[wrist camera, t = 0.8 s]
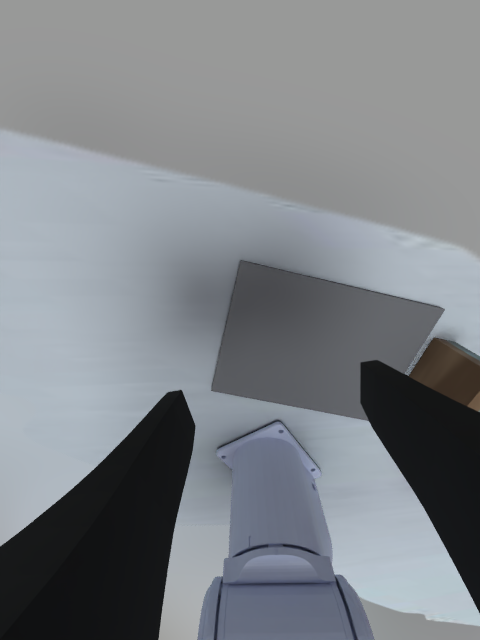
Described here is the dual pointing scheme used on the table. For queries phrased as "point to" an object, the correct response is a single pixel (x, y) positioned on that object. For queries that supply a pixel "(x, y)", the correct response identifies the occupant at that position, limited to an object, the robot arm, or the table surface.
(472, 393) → the tile
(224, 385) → the mat
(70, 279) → the table surface
